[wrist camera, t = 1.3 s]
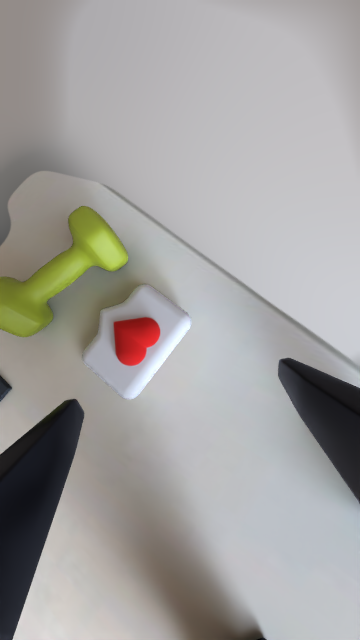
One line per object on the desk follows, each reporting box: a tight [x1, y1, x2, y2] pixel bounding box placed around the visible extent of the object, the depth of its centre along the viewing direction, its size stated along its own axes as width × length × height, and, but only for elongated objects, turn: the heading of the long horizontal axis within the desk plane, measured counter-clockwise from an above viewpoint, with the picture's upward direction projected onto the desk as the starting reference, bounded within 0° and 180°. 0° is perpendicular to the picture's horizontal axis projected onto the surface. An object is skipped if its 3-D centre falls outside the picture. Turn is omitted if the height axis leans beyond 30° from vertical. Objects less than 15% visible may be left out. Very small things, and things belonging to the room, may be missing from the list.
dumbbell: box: [0, 206, 128, 337], centre depth 22 cm, size 16×8×7 cm, turn 129°
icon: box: [82, 284, 191, 399], centre depth 21 cm, size 12×4×10 cm
